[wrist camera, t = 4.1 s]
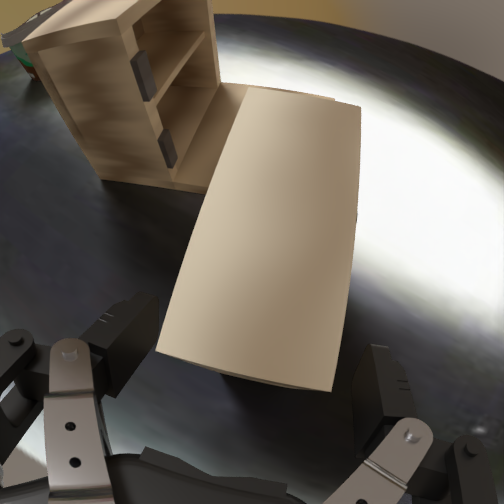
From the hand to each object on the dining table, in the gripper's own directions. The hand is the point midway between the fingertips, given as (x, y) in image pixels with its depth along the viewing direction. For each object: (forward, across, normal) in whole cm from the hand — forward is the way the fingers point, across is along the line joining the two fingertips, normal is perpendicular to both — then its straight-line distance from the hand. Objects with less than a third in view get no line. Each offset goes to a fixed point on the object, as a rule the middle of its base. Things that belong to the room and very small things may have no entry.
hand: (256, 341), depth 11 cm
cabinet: (+16, +7, -6) cm, 19 cm away
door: (+7, 0, +3) cm, 8 cm away
